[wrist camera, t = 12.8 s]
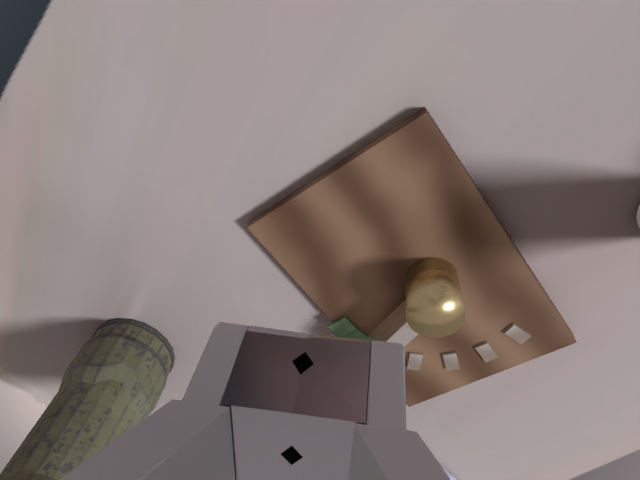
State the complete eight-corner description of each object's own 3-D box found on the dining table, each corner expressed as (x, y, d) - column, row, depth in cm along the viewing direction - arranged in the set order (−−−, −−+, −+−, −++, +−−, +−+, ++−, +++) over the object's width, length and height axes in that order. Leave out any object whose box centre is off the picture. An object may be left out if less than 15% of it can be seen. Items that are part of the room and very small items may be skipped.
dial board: (425, 107, 37) (426, 114, 35) (572, 333, 46) (577, 344, 45) (245, 223, 44) (241, 232, 42) (404, 399, 53) (404, 410, 52)
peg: (427, 248, 42) (431, 283, 37) (469, 275, 42) (477, 312, 38) (347, 330, 47) (343, 368, 43) (385, 352, 48) (385, 392, 44)
